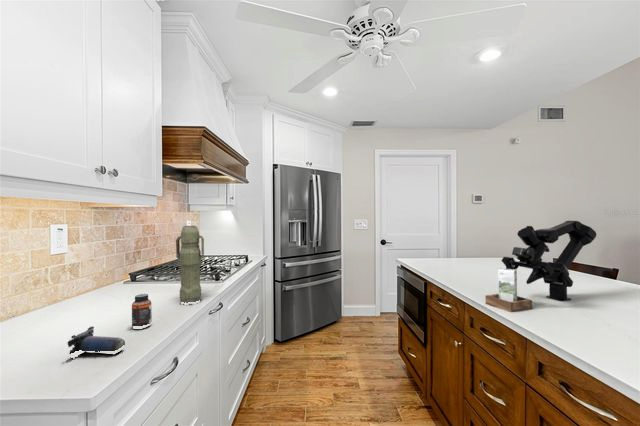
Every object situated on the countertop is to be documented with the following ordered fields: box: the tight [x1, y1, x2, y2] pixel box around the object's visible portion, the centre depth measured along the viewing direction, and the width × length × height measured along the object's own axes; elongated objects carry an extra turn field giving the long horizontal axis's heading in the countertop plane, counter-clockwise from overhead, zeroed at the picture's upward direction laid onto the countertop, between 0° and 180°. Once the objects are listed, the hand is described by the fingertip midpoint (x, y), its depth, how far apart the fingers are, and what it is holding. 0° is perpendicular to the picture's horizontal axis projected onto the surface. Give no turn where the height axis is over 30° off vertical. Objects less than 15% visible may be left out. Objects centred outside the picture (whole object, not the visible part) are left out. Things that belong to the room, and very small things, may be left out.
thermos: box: [175, 225, 205, 303], centre depth 130 cm, size 9×12×35 cm
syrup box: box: [497, 267, 518, 302], centre depth 117 cm, size 6×6×14 cm
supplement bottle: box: [131, 293, 153, 327], centre depth 101 cm, size 6×6×11 cm
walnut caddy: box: [485, 293, 533, 313], centre depth 117 cm, size 11×11×4 cm
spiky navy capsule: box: [66, 326, 126, 355], centre depth 82 cm, size 9×8×12 cm
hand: (516, 281), depth 118 cm, fingers open, 9 cm apart
